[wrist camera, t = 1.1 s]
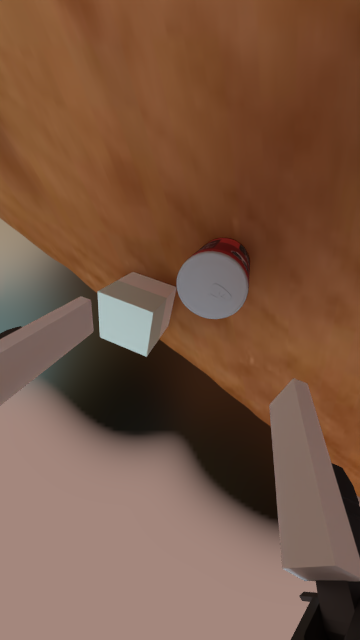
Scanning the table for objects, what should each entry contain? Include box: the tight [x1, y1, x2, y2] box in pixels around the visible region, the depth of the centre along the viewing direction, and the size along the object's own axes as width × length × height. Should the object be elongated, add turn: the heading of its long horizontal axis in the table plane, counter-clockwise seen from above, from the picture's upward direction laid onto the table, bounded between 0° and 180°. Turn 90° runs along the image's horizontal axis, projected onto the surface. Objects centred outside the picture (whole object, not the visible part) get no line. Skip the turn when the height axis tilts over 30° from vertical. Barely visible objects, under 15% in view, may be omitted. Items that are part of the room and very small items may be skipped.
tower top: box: [98, 280, 167, 356], centre depth 31 cm, size 9×9×5 cm
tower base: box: [118, 272, 177, 338], centre depth 35 cm, size 9×9×5 cm
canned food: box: [177, 238, 250, 319], centre depth 25 cm, size 8×8×11 cm
